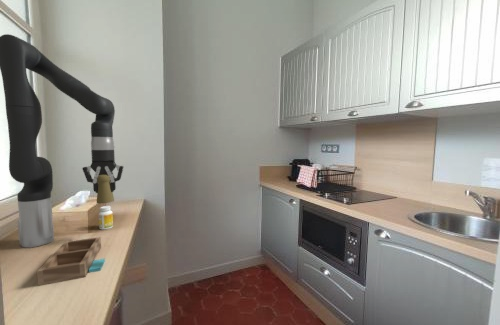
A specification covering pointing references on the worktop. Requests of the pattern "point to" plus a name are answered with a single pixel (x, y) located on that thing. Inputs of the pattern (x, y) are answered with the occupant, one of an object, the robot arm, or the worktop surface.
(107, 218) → the supplement bottle
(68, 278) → the wooden divided tray
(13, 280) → the worktop surface
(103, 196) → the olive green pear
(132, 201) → the worktop surface
